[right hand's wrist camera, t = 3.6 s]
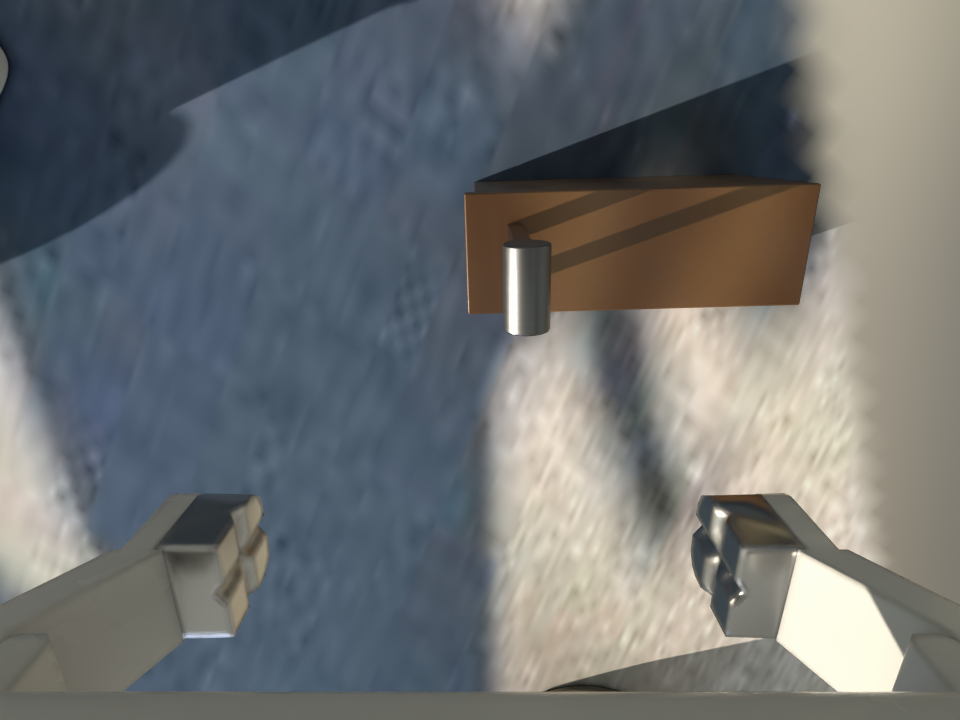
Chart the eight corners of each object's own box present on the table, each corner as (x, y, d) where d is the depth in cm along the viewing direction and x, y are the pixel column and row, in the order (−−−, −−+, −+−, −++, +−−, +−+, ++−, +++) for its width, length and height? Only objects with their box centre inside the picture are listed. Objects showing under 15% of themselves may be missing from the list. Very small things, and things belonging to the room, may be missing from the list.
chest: (476, 274, 37) (477, 309, 29) (473, 181, 35) (473, 191, 27) (722, 267, 37) (790, 300, 29) (734, 174, 35) (810, 182, 27)
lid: (468, 310, 29) (466, 370, 21) (464, 192, 27) (460, 211, 19) (790, 300, 29) (908, 358, 21) (811, 182, 27) (950, 197, 19)
